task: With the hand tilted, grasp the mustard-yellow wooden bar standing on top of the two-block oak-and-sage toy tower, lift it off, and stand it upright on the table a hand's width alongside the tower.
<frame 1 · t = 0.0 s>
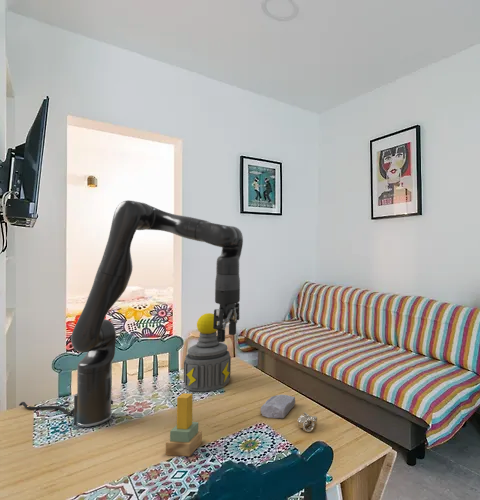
hand: (226, 338, 113), 29 cm above the table, tool pointing down, fingers open, 8 cm apart
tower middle: (184, 436, 101), point 3 cm above the table, touching bar, tower base
tower base: (184, 448, 101), on the table, touching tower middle
decorative lamp: (207, 384, 148), on the table
ornament: (307, 427, 115), on the table
bar: (184, 426, 101), point 6 cm above the table, touching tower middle
stone block: (277, 410, 126), on the table
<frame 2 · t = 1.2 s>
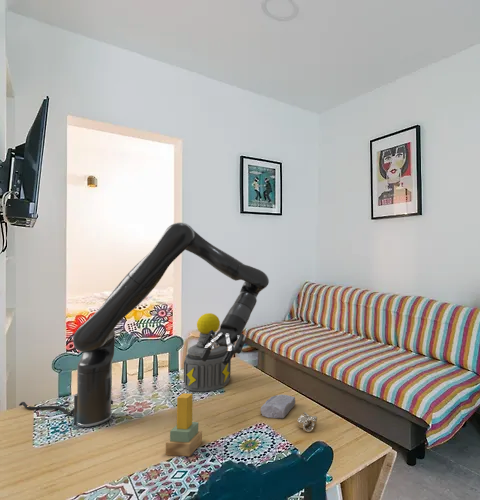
hand: (213, 362, 112), 22 cm above the table, tool tilted 45°, fingers open, 8 cm apart
nothing on the table moved.
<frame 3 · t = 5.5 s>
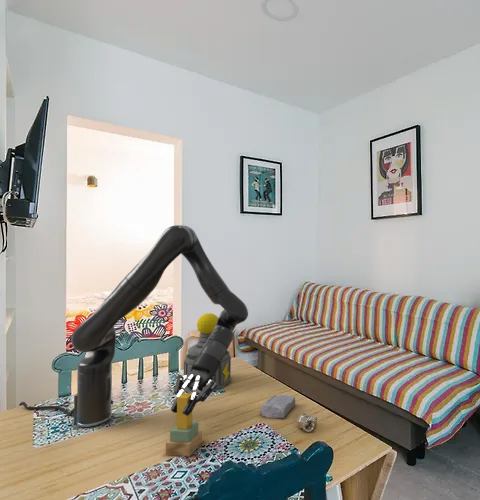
hand: (179, 412, 99), 11 cm above the table, tool tilted 45°, fingers closed on bar, 3 cm apart
bar: (184, 426, 101), point 6 cm above the table, touching gripper, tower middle
everything else where it was.
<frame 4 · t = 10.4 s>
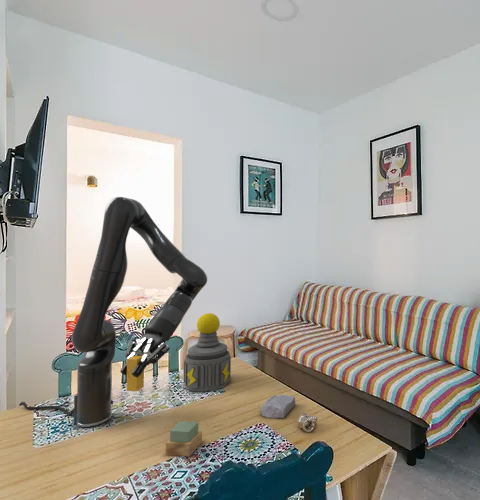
hand: (129, 374, 97), 23 cm above the table, tool tilted 45°, fingers closed on bar, 3 cm apart
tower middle: (184, 436, 101), point 3 cm above the table, touching tower base
bar: (135, 389, 99), point 18 cm above the table, touching gripper
everything else where it was.
when the fingers open (5 cm above the table, at t = 15.5 s): bar stays where it is, on the table.
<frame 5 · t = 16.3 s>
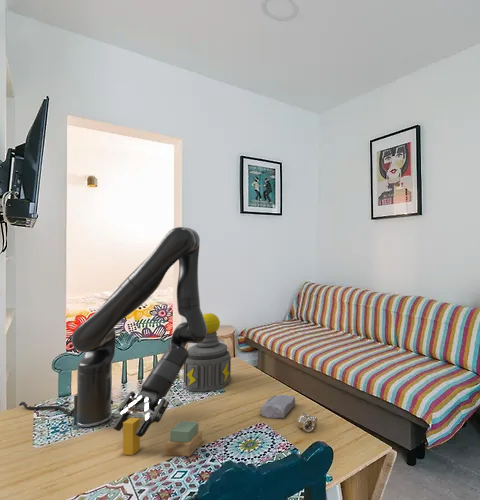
hand: (127, 432, 98), 6 cm above the table, tool tilted 45°, fingers open, 8 cm apart
bar: (131, 451, 99), on the table
everything else where it was.
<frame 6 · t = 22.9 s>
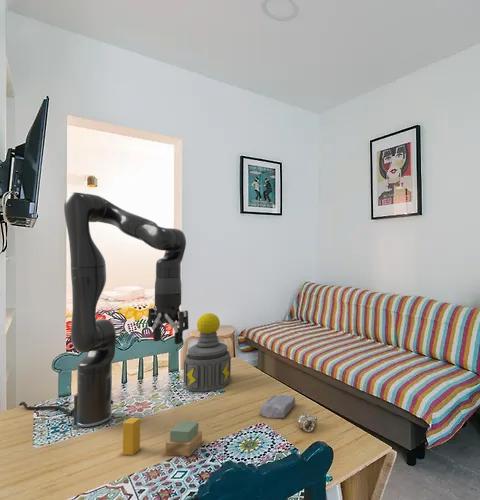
hand: (167, 342, 111), 28 cm above the table, tool pointing down, fingers open, 8 cm apart
nothing on the table moved.
at the end: bar inside the target area (0.1 cm from its centre), on the table; bar tilted 0°; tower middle moved 0.0 cm from its start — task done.
